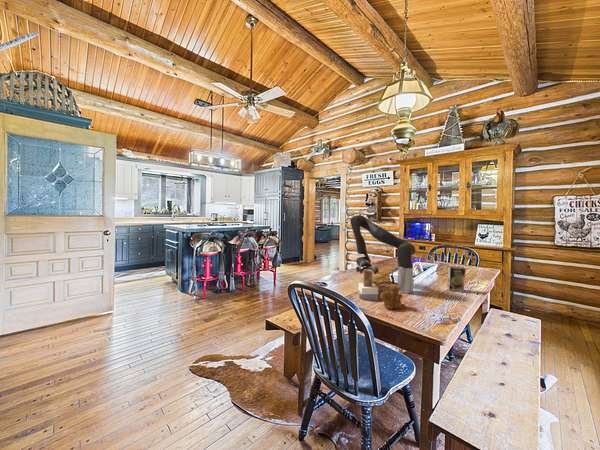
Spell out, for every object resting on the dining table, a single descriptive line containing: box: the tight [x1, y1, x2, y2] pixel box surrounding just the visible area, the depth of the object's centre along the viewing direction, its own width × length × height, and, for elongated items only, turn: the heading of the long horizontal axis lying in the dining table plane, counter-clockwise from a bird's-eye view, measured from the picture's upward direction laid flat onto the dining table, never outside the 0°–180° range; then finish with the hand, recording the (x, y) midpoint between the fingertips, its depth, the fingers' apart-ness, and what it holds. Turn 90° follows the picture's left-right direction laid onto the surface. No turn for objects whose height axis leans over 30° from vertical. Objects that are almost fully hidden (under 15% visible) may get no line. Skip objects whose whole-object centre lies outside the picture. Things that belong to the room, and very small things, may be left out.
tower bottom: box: [358, 289, 379, 301], centre depth 165 cm, size 11×11×4 cm
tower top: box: [358, 282, 379, 296], centre depth 165 cm, size 10×10×4 cm
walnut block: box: [362, 269, 373, 287], centre depth 164 cm, size 5×5×10 cm
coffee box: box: [446, 266, 466, 293], centre depth 179 cm, size 9×6×16 cm
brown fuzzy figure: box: [379, 283, 407, 310], centre depth 148 cm, size 10×14×13 cm
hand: (368, 272), depth 166 cm, fingers open, 8 cm apart
